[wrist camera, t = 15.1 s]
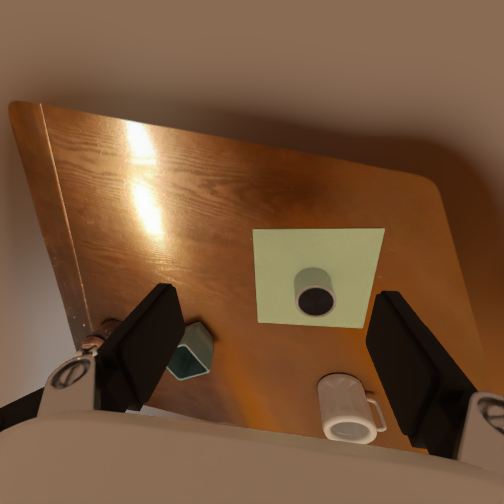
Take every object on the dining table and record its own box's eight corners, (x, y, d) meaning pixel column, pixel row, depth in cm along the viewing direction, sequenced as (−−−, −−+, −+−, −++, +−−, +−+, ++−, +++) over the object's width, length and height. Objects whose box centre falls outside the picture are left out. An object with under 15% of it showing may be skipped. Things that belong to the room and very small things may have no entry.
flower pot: (173, 323, 52) (152, 355, 44) (200, 312, 49) (184, 343, 41) (194, 347, 55) (179, 381, 47) (222, 337, 52) (210, 372, 44)
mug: (314, 396, 57) (319, 442, 48) (320, 369, 52) (327, 415, 43) (368, 404, 55) (383, 453, 46) (379, 377, 51) (399, 426, 42)
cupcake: (94, 323, 56) (58, 356, 47) (118, 312, 53) (84, 345, 44) (119, 347, 59) (90, 383, 50) (143, 338, 56) (117, 374, 47)
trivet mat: (252, 228, 39) (252, 229, 39) (384, 228, 35) (385, 228, 35) (258, 321, 48) (258, 322, 48) (362, 327, 45) (362, 328, 45)
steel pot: (294, 266, 41) (295, 285, 35) (331, 267, 40) (339, 286, 34) (293, 296, 44) (294, 316, 38) (328, 297, 43) (334, 319, 37)
